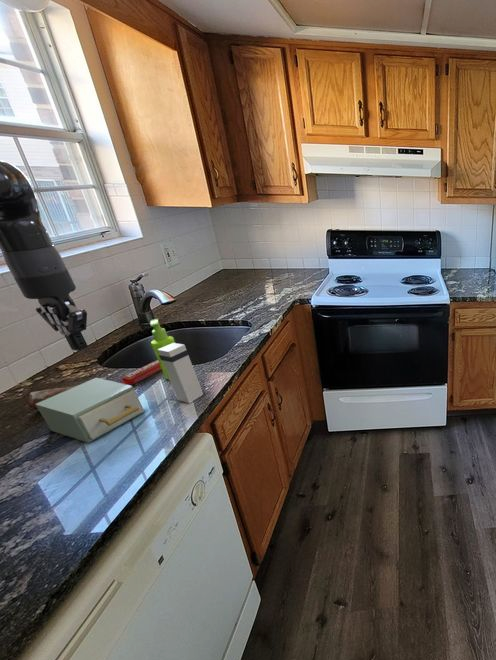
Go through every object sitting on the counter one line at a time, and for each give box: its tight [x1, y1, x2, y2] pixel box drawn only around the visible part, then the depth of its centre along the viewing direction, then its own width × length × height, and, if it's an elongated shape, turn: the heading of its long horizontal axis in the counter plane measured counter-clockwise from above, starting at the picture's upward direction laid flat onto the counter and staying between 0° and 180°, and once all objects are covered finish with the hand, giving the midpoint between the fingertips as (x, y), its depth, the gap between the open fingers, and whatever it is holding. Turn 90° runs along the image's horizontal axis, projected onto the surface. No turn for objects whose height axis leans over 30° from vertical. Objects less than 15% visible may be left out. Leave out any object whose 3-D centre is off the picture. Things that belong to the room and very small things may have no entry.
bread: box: [27, 385, 77, 411], centre depth 108 cm, size 6×19×6 cm, turn 117°
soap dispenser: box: [149, 318, 176, 381], centre depth 117 cm, size 6×7×20 cm
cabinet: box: [35, 377, 145, 443], centre depth 98 cm, size 16×14×9 cm
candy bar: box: [120, 359, 163, 386], centre depth 122 cm, size 16×4×3 cm, turn 164°
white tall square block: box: [158, 342, 204, 404], centre depth 106 cm, size 5×5×17 cm
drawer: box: [78, 390, 145, 440], centre depth 97 cm, size 19×12×7 cm, turn 71°
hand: (80, 348), depth 79 cm, fingers closed
